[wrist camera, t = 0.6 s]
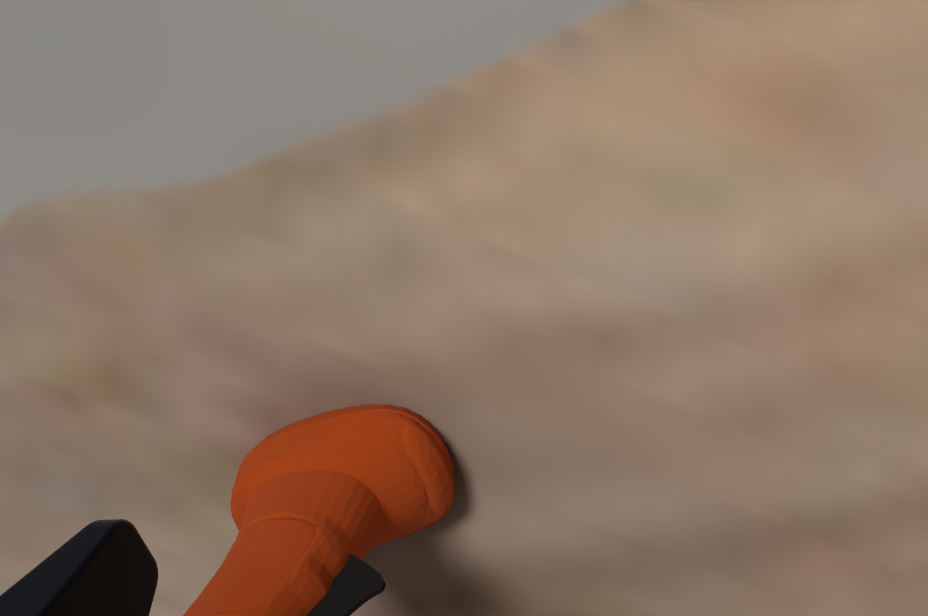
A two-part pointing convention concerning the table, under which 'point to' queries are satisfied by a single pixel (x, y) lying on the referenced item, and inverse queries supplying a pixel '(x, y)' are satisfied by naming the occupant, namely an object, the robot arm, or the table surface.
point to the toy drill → (327, 511)
